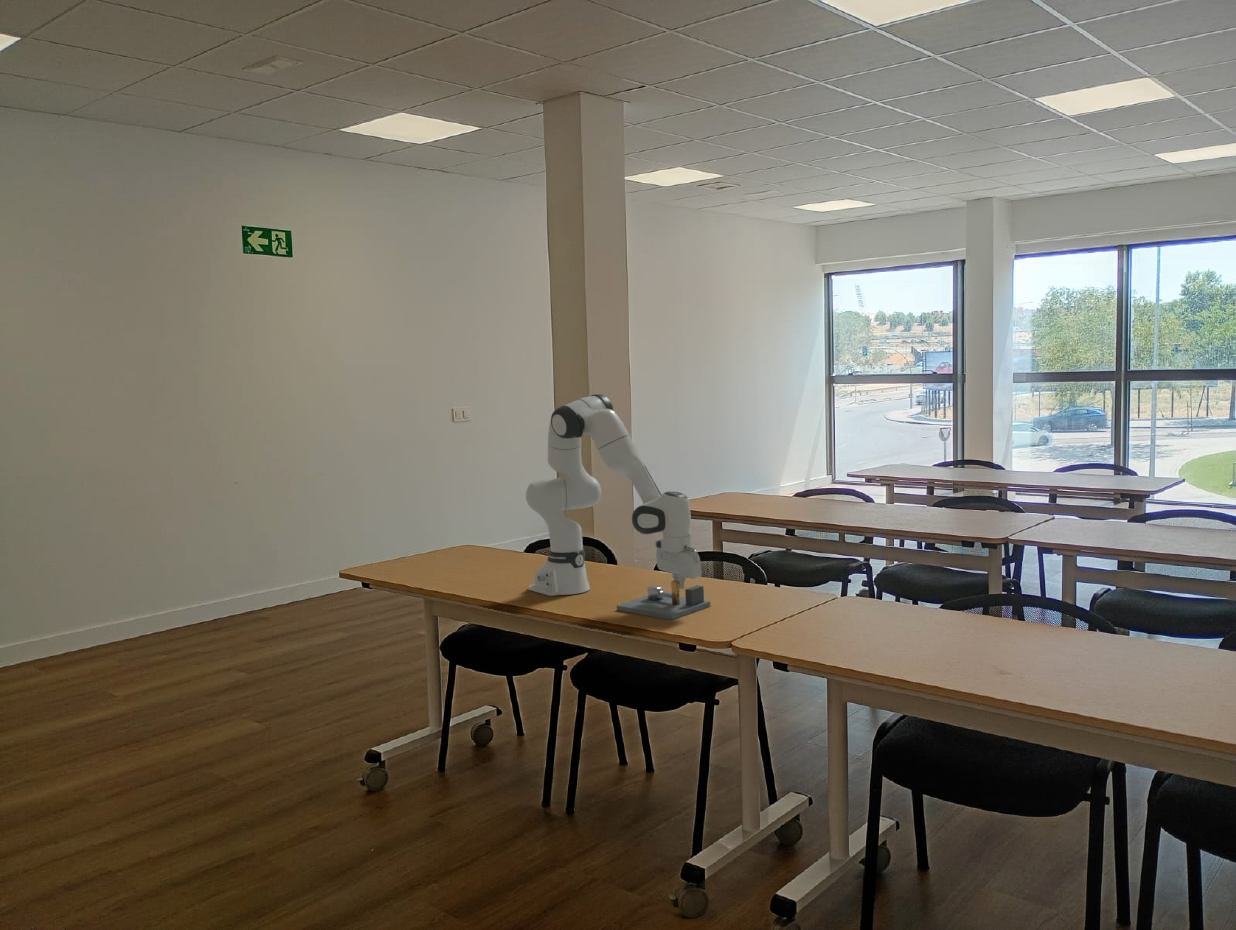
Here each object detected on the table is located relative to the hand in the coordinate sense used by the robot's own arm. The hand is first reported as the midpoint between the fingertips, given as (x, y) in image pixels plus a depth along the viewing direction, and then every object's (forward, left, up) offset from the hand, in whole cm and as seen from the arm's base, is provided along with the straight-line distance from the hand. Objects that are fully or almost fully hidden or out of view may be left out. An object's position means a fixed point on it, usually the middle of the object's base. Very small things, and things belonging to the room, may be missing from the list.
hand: (679, 588), depth 295 cm
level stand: (-4, -4, -6) cm, 8 cm away
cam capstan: (-6, -1, -4) cm, 7 cm away
